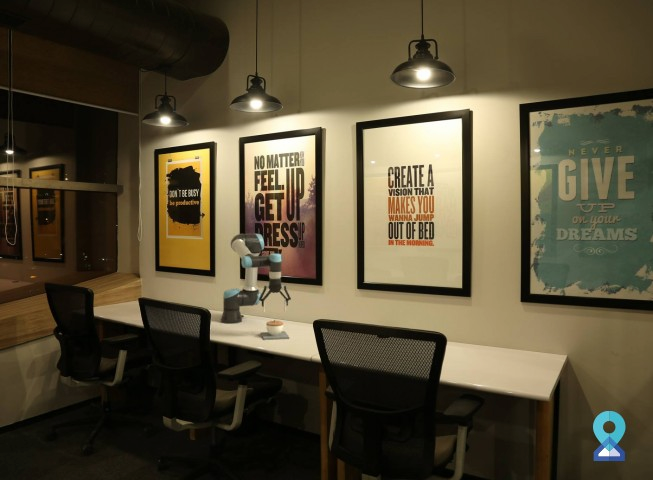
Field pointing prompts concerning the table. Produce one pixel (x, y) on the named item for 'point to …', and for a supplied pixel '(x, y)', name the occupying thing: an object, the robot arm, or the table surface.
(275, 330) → the lidded jar
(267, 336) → the slate mat
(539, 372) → the table surface
